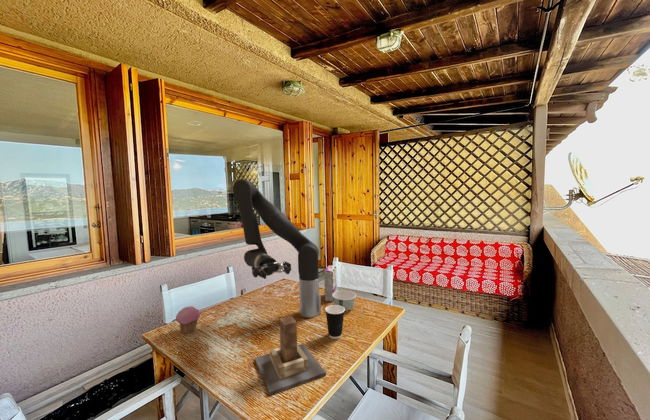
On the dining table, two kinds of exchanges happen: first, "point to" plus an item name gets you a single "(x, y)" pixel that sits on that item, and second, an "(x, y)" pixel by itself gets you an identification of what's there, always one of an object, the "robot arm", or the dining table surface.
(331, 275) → the candy bar box
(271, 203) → the robot arm
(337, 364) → the dining table surface
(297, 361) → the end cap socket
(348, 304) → the food container
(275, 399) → the dining table surface
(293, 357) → the walnut slat
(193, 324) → the cupcake
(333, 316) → the dixie cup
